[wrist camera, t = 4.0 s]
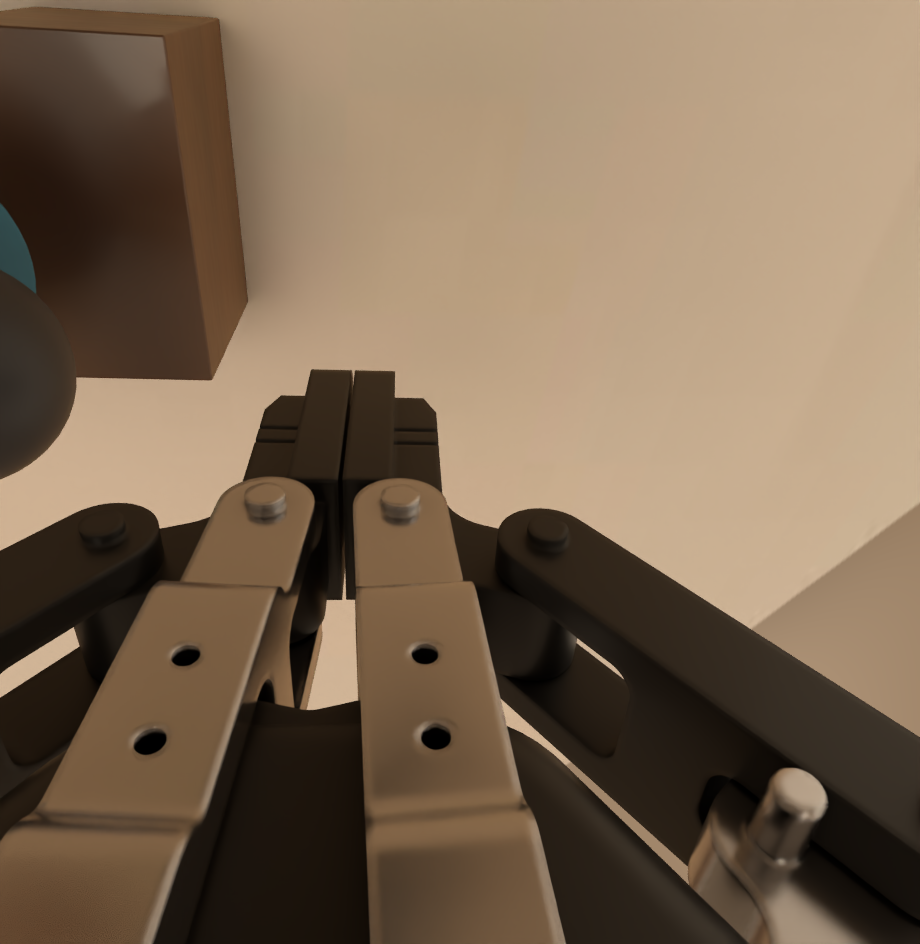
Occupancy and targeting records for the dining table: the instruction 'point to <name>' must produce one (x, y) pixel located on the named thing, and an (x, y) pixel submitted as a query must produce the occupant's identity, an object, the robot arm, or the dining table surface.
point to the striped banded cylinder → (29, 359)
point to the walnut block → (124, 185)
